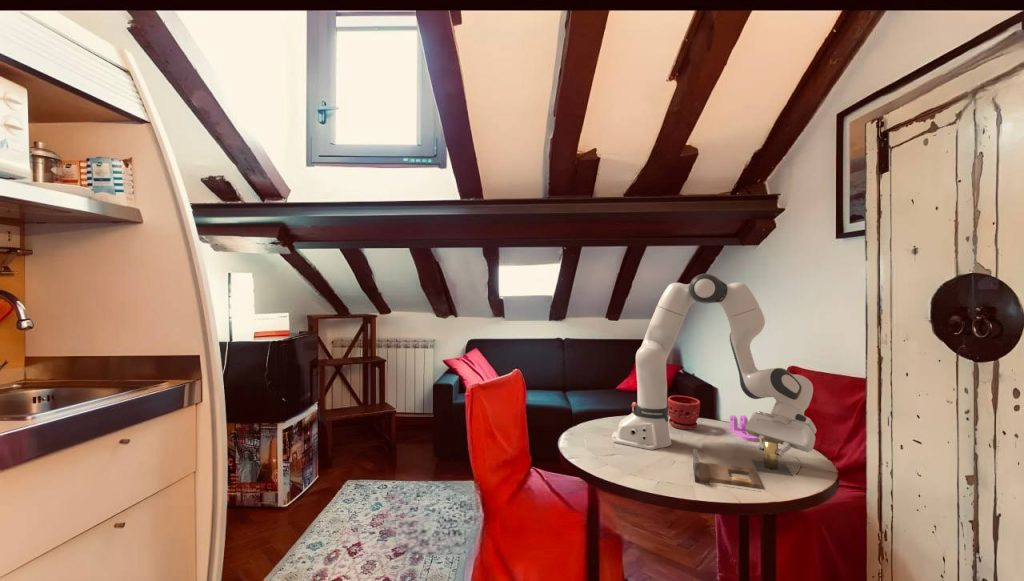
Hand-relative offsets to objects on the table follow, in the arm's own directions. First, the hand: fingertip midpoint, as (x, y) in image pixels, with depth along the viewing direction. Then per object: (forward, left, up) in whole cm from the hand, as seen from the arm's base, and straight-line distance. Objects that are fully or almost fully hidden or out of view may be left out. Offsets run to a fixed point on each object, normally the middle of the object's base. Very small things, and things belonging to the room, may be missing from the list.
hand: (769, 452), depth 139 cm
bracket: (-3, +35, -6) cm, 35 cm away
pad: (+1, +1, -6) cm, 6 cm away
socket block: (-14, -11, -6) cm, 19 cm away
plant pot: (-25, +39, -6) cm, 47 cm away
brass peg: (0, +1, -5) cm, 5 cm away
